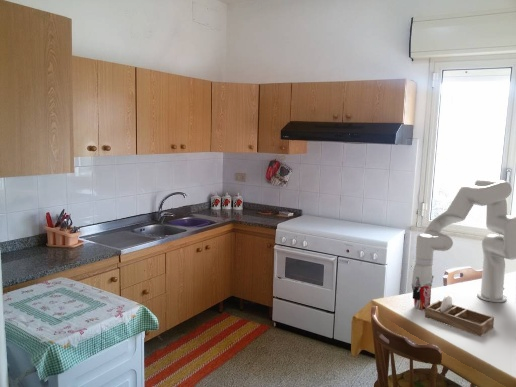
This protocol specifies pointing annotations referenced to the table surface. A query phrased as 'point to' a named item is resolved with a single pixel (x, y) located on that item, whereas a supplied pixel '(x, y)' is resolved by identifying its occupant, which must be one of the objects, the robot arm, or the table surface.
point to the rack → (461, 318)
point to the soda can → (423, 297)
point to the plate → (446, 304)
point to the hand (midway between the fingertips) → (421, 296)
